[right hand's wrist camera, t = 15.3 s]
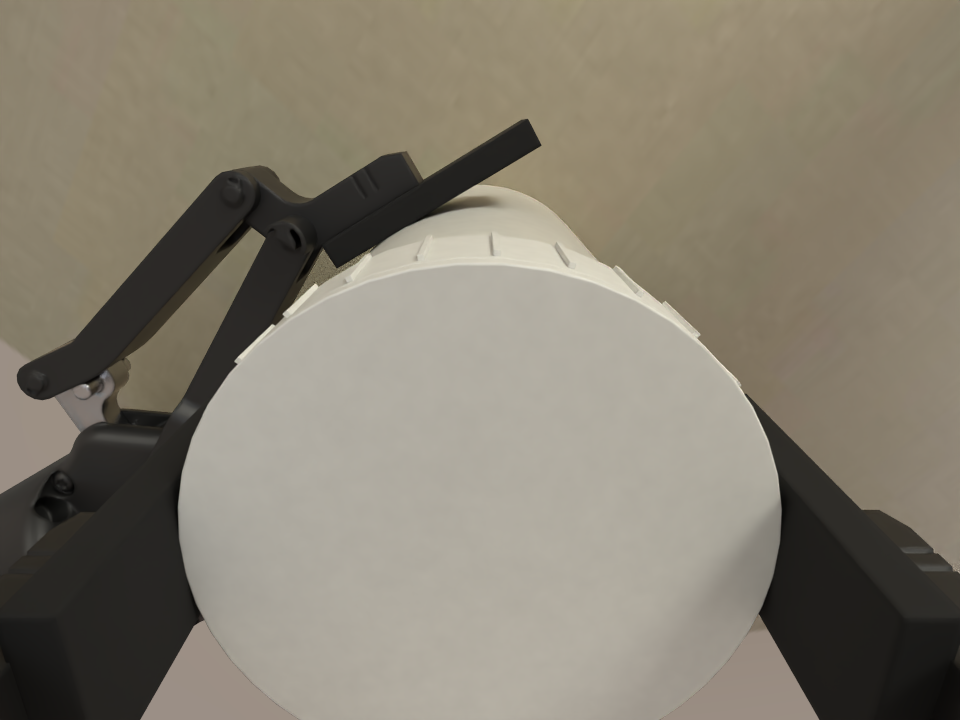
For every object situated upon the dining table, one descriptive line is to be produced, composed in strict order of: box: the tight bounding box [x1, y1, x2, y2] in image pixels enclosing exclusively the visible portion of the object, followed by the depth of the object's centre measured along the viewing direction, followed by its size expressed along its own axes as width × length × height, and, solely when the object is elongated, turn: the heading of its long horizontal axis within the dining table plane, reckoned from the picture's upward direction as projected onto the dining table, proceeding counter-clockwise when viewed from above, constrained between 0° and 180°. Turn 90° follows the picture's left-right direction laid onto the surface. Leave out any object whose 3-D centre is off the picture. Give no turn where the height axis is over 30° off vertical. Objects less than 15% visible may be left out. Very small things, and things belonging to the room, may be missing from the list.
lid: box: [178, 231, 782, 720], centre depth 12 cm, size 10×10×2 cm
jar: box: [369, 185, 599, 262], centre depth 18 cm, size 9×9×16 cm
